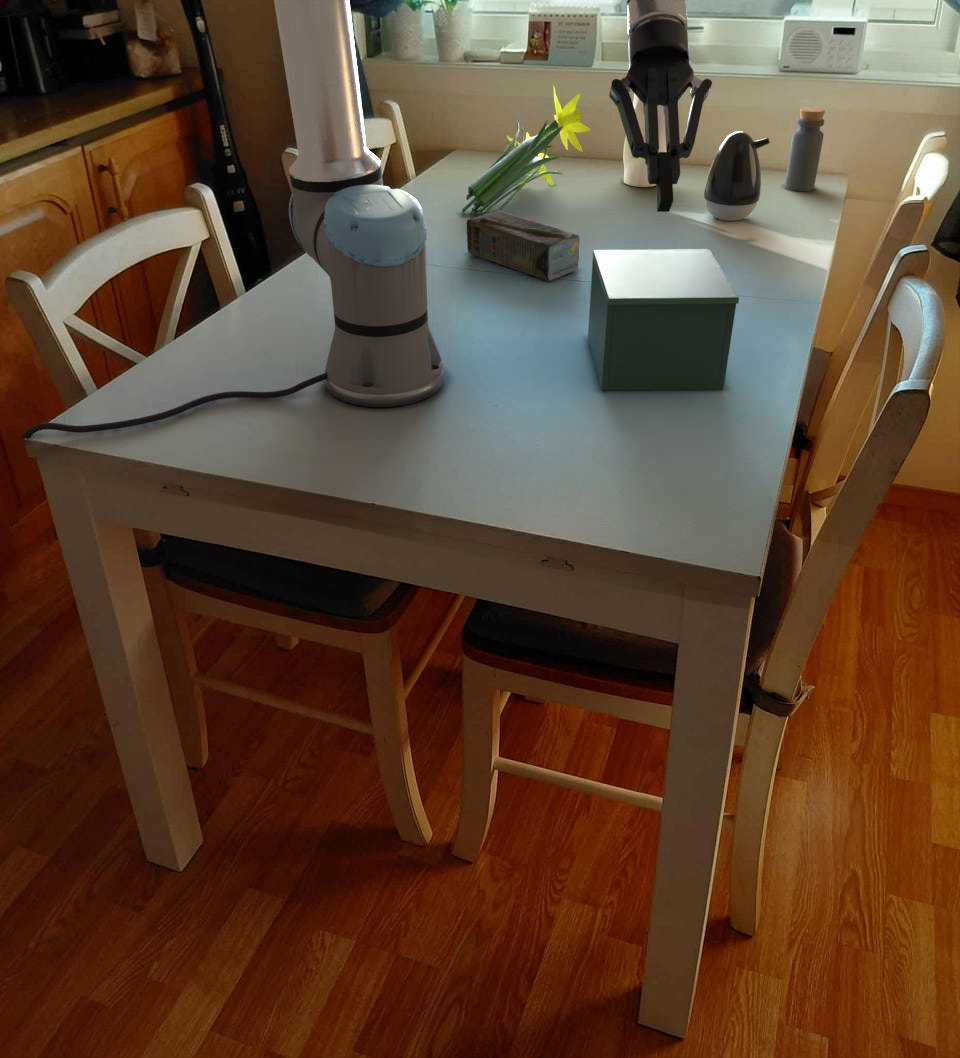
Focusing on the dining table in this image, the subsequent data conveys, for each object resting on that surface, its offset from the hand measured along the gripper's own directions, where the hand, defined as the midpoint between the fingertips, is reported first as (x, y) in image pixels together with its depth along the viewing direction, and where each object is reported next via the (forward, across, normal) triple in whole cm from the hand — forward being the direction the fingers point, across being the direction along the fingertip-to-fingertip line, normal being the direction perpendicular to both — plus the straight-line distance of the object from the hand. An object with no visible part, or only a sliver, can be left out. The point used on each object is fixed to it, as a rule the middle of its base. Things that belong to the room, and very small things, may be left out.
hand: (665, 206), depth 121 cm
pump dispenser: (-30, -24, -59) cm, 70 cm away
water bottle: (-47, -12, -76) cm, 90 cm away
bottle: (-44, -43, -73) cm, 95 cm away
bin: (+15, 0, -14) cm, 21 cm away
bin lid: (+7, 0, -5) cm, 9 cm away
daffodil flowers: (-39, +14, -68) cm, 80 cm away
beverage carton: (-12, +16, -42) cm, 46 cm away
